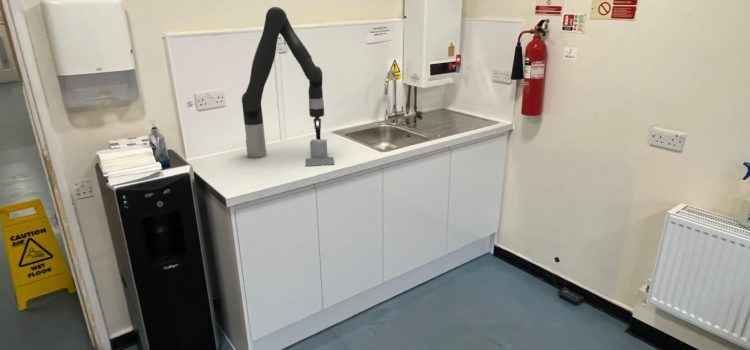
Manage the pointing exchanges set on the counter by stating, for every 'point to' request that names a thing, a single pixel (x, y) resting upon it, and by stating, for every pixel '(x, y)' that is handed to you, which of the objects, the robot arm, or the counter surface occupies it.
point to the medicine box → (318, 148)
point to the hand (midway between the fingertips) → (318, 139)
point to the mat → (319, 161)
